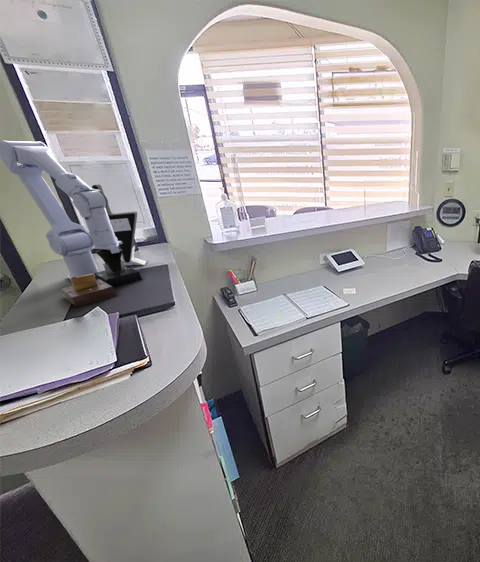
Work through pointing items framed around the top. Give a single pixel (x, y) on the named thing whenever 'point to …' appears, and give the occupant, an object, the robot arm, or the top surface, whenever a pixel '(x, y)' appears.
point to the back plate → (119, 277)
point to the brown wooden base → (88, 293)
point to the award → (124, 232)
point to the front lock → (83, 281)
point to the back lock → (111, 270)
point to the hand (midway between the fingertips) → (116, 271)
